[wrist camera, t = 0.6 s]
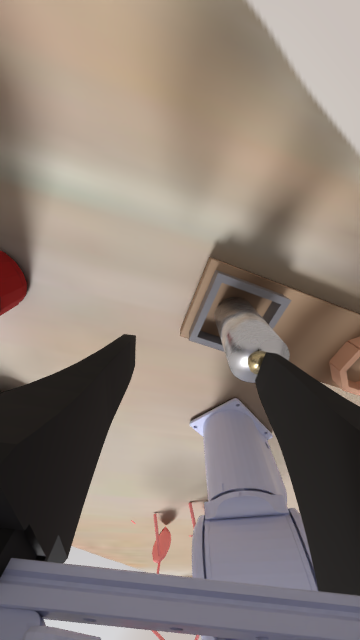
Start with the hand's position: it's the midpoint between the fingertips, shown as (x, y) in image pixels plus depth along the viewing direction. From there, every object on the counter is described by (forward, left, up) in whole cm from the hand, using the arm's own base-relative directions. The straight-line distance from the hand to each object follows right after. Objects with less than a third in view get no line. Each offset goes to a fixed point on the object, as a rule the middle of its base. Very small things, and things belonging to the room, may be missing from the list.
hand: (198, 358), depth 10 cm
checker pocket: (-3, -2, -8) cm, 9 cm away
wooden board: (-9, -6, -10) cm, 15 cm away
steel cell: (-3, -2, -8) cm, 9 cm away
